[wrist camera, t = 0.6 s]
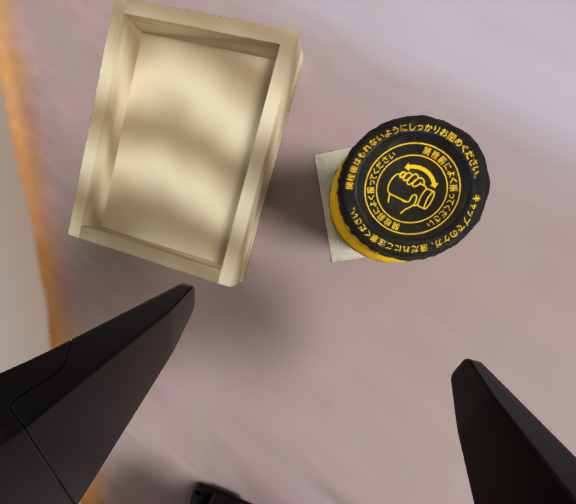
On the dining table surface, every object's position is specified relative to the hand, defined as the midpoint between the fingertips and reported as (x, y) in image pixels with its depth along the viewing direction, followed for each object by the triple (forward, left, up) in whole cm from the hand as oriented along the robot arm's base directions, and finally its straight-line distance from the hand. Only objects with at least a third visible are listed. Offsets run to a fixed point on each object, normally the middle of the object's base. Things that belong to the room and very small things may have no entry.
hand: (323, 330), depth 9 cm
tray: (+6, +14, -13) cm, 20 cm away
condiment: (+6, -1, -14) cm, 15 cm away
